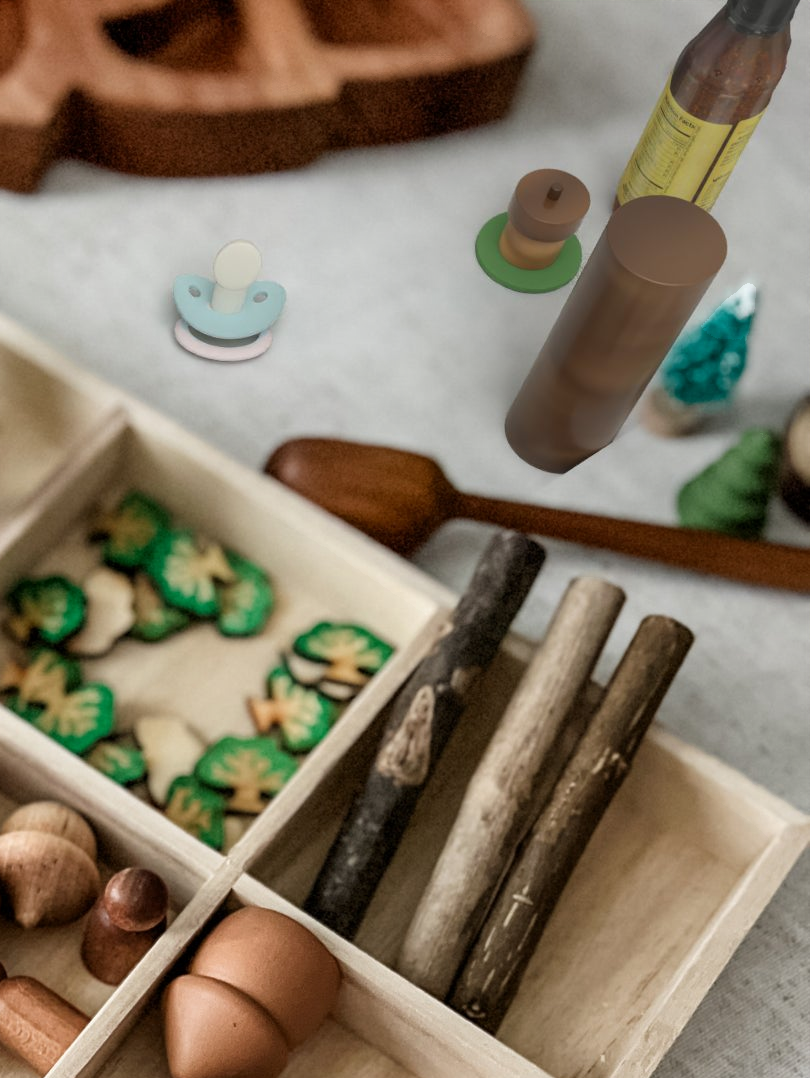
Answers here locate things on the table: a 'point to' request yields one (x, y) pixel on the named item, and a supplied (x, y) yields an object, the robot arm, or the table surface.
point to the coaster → (521, 278)
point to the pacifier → (228, 304)
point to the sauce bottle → (711, 104)
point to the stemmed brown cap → (542, 217)
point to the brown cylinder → (615, 330)
